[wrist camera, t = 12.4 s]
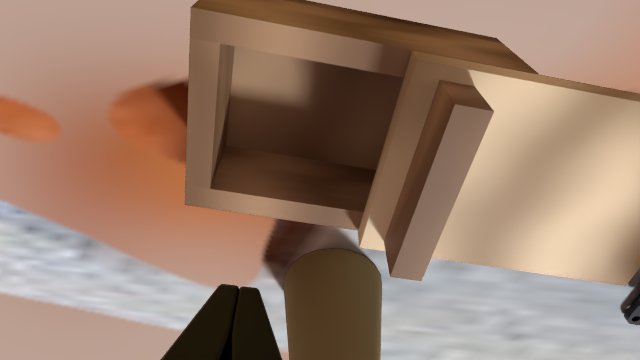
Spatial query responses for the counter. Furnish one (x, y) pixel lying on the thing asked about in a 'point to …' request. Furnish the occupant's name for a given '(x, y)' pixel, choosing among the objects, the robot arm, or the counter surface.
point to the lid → (507, 174)
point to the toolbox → (301, 103)
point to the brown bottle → (333, 307)
